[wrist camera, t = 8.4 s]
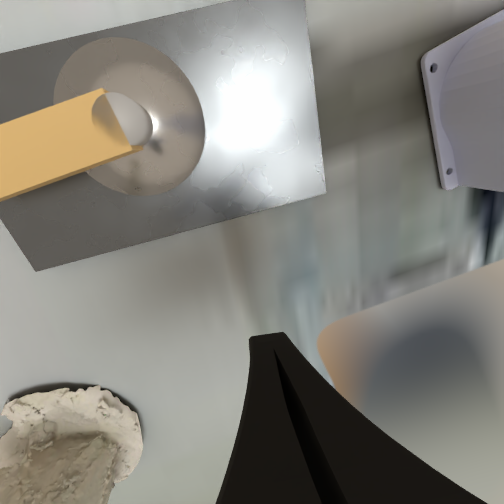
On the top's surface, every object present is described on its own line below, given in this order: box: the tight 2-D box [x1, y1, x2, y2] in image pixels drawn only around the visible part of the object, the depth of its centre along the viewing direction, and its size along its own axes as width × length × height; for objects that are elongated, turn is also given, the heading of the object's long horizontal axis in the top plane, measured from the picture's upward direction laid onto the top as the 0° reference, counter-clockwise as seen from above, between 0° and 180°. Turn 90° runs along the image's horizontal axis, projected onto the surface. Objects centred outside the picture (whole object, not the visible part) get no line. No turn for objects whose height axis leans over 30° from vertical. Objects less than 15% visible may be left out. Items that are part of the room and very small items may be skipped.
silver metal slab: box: [0, 0, 326, 272], centre depth 14 cm, size 20×11×3 cm, turn 103°
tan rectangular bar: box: [0, 88, 153, 202], centre depth 11 cm, size 11×2×2 cm, turn 109°
